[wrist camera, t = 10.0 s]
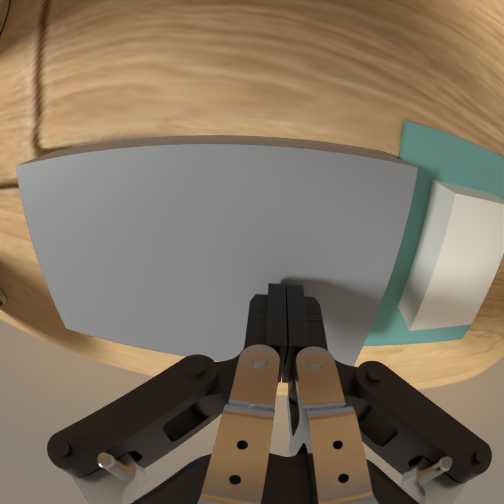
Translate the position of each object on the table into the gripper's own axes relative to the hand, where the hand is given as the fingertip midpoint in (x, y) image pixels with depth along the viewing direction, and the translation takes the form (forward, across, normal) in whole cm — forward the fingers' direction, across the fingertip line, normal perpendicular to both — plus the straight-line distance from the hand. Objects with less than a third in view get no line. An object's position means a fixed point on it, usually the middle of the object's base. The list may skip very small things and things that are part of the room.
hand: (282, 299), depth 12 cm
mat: (+4, -12, 0) cm, 13 cm away
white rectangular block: (+2, -12, -1) cm, 12 cm away
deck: (+4, +5, 0) cm, 7 cm away
